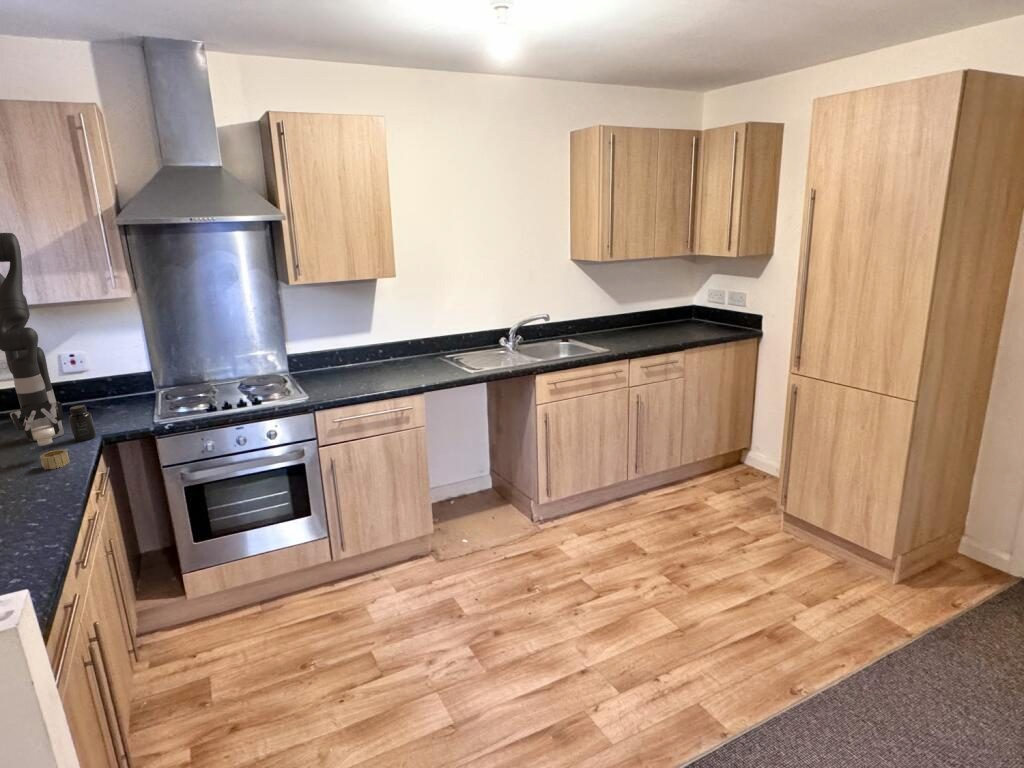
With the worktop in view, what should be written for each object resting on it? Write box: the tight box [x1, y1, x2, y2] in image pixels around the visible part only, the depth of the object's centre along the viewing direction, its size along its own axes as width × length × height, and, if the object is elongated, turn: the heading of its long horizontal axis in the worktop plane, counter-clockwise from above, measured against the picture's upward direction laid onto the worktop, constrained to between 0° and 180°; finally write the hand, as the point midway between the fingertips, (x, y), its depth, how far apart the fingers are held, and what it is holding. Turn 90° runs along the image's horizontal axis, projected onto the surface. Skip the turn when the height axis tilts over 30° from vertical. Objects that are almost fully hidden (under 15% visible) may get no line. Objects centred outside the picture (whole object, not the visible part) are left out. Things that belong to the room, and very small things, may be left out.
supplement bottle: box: [68, 404, 97, 442], centre depth 222 cm, size 7×7×12 cm
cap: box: [30, 426, 55, 446], centre depth 205 cm, size 6×6×5 cm
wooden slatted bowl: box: [39, 448, 71, 470], centre depth 199 cm, size 7×7×4 cm
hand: (43, 436), depth 205 cm, fingers closed on cap, 6 cm apart
